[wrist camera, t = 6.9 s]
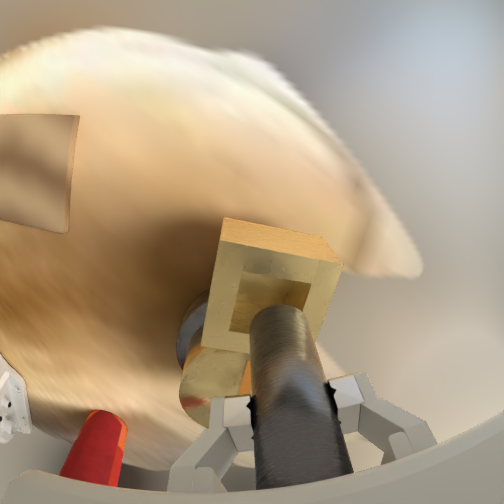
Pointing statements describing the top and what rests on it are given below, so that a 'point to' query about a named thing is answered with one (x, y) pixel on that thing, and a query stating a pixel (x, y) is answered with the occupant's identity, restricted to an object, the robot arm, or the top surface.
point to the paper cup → (97, 450)
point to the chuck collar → (252, 304)
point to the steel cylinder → (291, 404)
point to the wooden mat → (37, 169)
